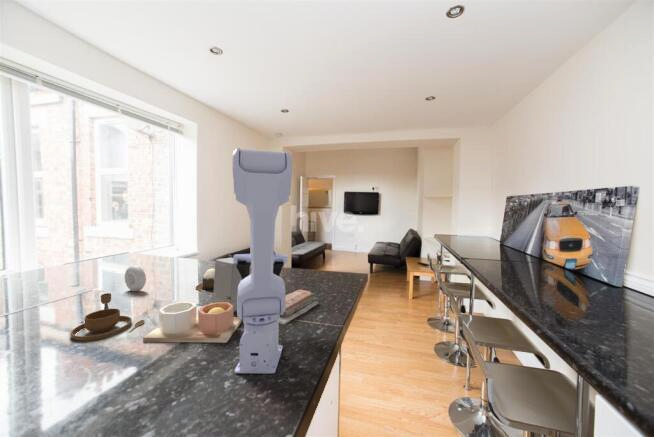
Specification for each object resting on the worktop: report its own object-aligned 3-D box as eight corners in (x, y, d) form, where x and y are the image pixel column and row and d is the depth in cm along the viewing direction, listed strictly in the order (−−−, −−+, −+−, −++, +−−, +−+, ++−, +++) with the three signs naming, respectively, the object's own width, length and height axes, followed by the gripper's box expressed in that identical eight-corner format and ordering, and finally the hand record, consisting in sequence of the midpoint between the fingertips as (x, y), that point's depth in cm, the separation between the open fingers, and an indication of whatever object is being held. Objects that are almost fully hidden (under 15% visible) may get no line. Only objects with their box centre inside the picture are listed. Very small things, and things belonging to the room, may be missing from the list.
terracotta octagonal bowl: (225, 334, 62) (225, 314, 62) (193, 333, 62) (193, 314, 62) (236, 320, 70) (236, 302, 70) (208, 319, 70) (208, 302, 70)
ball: (221, 331, 64) (221, 311, 64) (202, 330, 64) (202, 311, 64) (229, 322, 69) (229, 304, 69) (211, 322, 69) (211, 304, 69)
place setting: (41, 346, 59) (40, 322, 58) (102, 311, 78) (101, 293, 78) (125, 341, 62) (124, 317, 61) (163, 308, 81) (163, 290, 81)
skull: (196, 281, 107) (214, 262, 109) (216, 296, 109) (233, 277, 111) (189, 289, 95) (209, 268, 97) (211, 305, 97) (230, 284, 99)
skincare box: (211, 309, 80) (211, 260, 80) (230, 301, 87) (229, 256, 86) (230, 314, 76) (230, 263, 76) (248, 306, 83) (248, 259, 82)
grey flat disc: (122, 290, 97) (122, 264, 96) (132, 288, 100) (132, 263, 99) (138, 294, 93) (138, 267, 92) (148, 291, 96) (148, 265, 95)
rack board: (226, 342, 60) (226, 338, 60) (143, 341, 60) (143, 337, 60) (242, 320, 72) (242, 316, 72) (173, 319, 72) (173, 315, 72)
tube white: (185, 333, 62) (184, 313, 62) (153, 333, 62) (153, 313, 62) (200, 319, 70) (200, 302, 70) (172, 319, 70) (172, 301, 70)
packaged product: (295, 286, 91) (318, 291, 86) (295, 299, 91) (318, 305, 86) (258, 302, 75) (284, 309, 70) (258, 318, 75) (284, 326, 70)
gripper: (289, 237, 73) (289, 284, 73) (239, 237, 73) (239, 283, 73) (285, 241, 66) (285, 292, 66) (230, 240, 66) (230, 291, 66)
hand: (261, 288), depth 69 cm, fingers open, 7 cm apart
